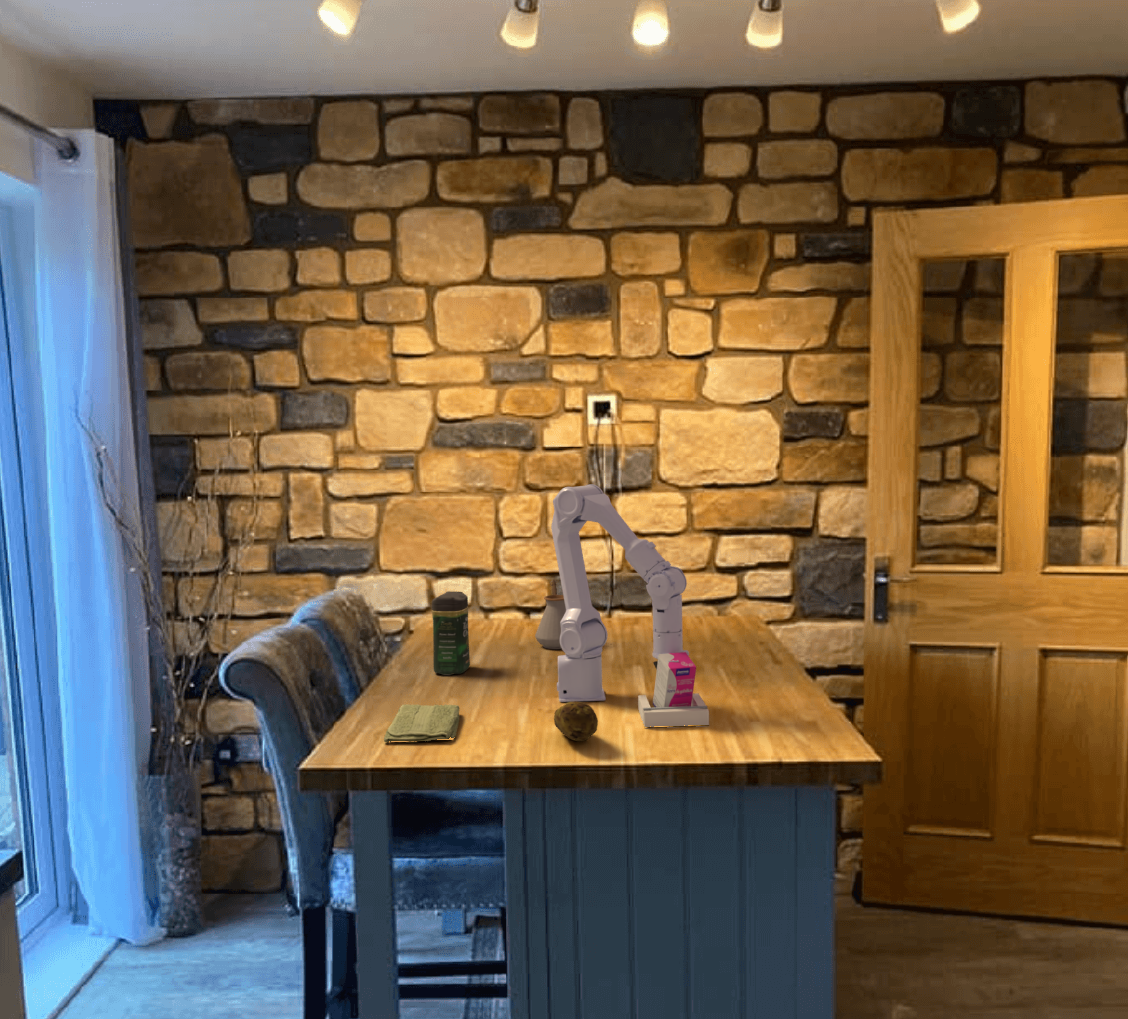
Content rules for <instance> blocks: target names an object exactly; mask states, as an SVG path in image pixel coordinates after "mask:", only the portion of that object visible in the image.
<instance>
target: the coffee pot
mask: <svg viewBox="0 0 1128 1019" xmlns="http://www.w3.org/2000/svg"><path fill="white" fill-rule="evenodd" d="M556 582H557V583H556ZM551 583H552V584H551ZM549 585H550V586H552V588H551V591H552V594H551V595H545V596H544V597H543V599H544V600H545V604H546V607H545V608H544V612H543V615H542V617H541V619H540V622H539V625H538V628H537V630H536V632H535V636H534V637H535V639H536V641H537V642H538V643H539V644H540V645H542V648H544V649H547V650H562V648H561V645H560V634H561V625H560V622H561V620H562V618H563V616H564V614H565V612H566V607H565V601H564V596H563V594H558V589H557V586H558V585H559V583H558V580H555V579H553V580H551V581H550V582H549Z"/></svg>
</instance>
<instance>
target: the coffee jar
mask: <svg viewBox="0 0 1128 1019" xmlns="http://www.w3.org/2000/svg"><path fill="white" fill-rule="evenodd" d="M431 614H432V615H431V616H432V638H433V641H432V642H433V643H432V644H433V648H432V649H433V650H432V652H433V656H432V658H433V660H432V661H433V663H432V664H433V666H432V667H433V672H434V673H435V674H441V675H442V676H452V675H454V674H457V675H458V674H463V673H464V672H465V671H467V670H468V669H469V668H470V665H471V661H470V660H471V657H470V639H469V637H470V636H469V597H468V595H466V593H463V591H445V593H442V594H440V595H439V596H436V597H434V598H432V600H431Z"/></svg>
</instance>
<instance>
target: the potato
mask: <svg viewBox="0 0 1128 1019" xmlns="http://www.w3.org/2000/svg"><path fill="white" fill-rule="evenodd" d="M553 715H554V716H553V720H554V721H553V722H554V726H555V727H556V728H557V729H558V730H559V732H560V733H561V734H562V735H563V736H565V737H567V738H568V739H570V740H573V741H576V742H583V741H584V740H585V741H587V740H589V739H590V738H591V737H592V736H593V735H594V734H595V733H596V732H597V731H598V725H599V720H598V716H597V713H596V712H595V711H594V709H593V708H592V707H591V705H590V704H588V703H587V702H583V701H573V702H565V704H564V705H562V706H560V707H559V708H557V709H555V711H554V714H553Z"/></svg>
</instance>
